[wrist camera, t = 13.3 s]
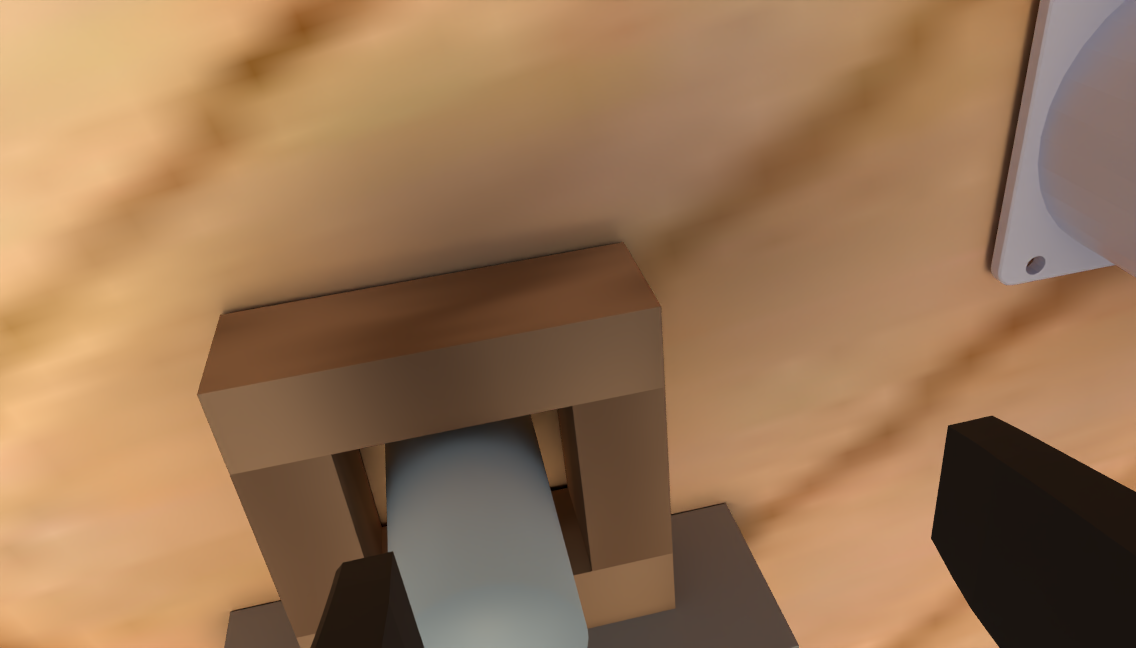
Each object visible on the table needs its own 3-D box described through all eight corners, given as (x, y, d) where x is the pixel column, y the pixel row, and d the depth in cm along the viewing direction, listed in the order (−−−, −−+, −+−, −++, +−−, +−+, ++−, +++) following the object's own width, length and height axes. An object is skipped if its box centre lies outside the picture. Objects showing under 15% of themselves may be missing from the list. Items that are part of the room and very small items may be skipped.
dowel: (516, 348, 21) (575, 562, 15) (539, 460, 23) (598, 689, 17) (368, 380, 20) (368, 613, 15) (403, 492, 22) (415, 737, 16)
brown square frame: (623, 242, 20) (660, 306, 17) (643, 525, 24) (675, 608, 22) (220, 314, 19) (196, 394, 16) (323, 595, 23) (317, 691, 21)
